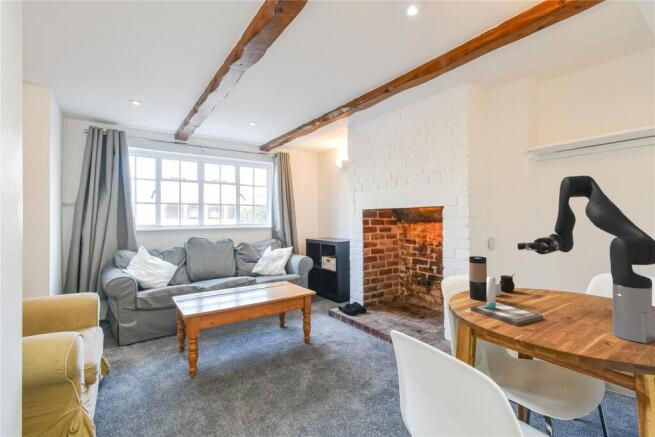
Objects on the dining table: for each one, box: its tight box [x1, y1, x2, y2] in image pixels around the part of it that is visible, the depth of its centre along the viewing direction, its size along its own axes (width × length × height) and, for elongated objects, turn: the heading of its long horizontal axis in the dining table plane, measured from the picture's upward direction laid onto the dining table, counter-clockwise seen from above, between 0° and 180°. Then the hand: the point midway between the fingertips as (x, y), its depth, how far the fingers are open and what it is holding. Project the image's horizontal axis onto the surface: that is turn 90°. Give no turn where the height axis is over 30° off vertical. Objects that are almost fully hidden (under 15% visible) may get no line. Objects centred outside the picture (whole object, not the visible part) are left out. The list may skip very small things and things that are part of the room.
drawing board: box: [470, 301, 544, 327], centre depth 124 cm, size 20×16×2 cm
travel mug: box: [468, 255, 488, 301], centre depth 147 cm, size 8×8×20 cm
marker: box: [486, 276, 497, 310], centre depth 126 cm, size 3×3×13 cm
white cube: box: [486, 281, 502, 297], centre depth 154 cm, size 6×6×6 cm
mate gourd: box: [498, 273, 516, 293], centre depth 159 cm, size 7×8×10 cm
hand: (529, 248), depth 131 cm, fingers open, 8 cm apart
